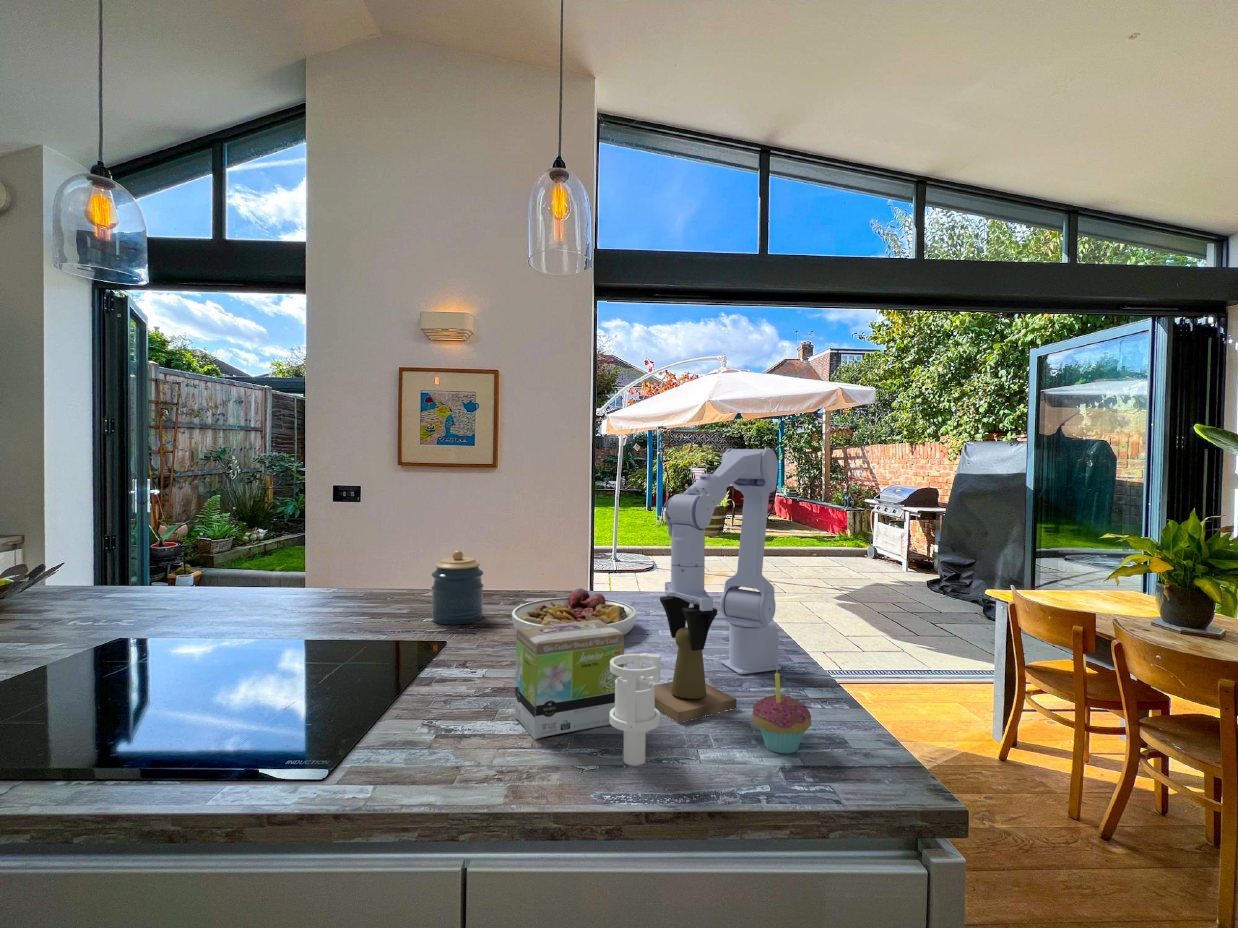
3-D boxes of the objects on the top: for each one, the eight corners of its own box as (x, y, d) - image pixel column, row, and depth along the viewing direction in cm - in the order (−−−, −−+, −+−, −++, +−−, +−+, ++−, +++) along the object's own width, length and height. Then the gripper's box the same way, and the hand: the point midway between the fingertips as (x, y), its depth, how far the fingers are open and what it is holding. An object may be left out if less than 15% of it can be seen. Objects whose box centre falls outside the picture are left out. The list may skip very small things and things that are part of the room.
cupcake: (801, 765, 88) (802, 679, 88) (742, 749, 93) (743, 667, 92) (817, 741, 95) (818, 662, 95) (762, 728, 100) (763, 652, 100)
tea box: (535, 742, 95) (535, 643, 94) (513, 717, 103) (514, 626, 103) (624, 723, 101) (625, 631, 101) (597, 701, 110) (598, 616, 110)
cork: (707, 699, 106) (709, 632, 107) (671, 697, 106) (673, 630, 107) (705, 689, 112) (707, 625, 113) (670, 687, 112) (672, 623, 113)
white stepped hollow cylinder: (656, 774, 85) (657, 663, 85) (604, 769, 86) (605, 659, 86) (662, 750, 92) (663, 647, 92) (614, 746, 93) (614, 644, 93)
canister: (422, 623, 159) (422, 553, 159) (444, 611, 172) (445, 546, 172) (471, 626, 157) (471, 555, 157) (490, 613, 170) (491, 547, 170)
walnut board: (693, 690, 118) (693, 677, 118) (736, 713, 108) (736, 698, 108) (638, 702, 112) (638, 688, 112) (678, 728, 102) (678, 712, 102)
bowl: (637, 650, 140) (638, 615, 140) (501, 649, 140) (501, 613, 140) (634, 616, 170) (635, 586, 170) (522, 615, 170) (522, 585, 170)
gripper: (649, 558, 115) (649, 633, 115) (685, 573, 101) (684, 658, 101) (685, 556, 117) (684, 630, 117) (724, 570, 104) (723, 653, 104)
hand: (687, 643), depth 110 cm, fingers open, 7 cm apart
